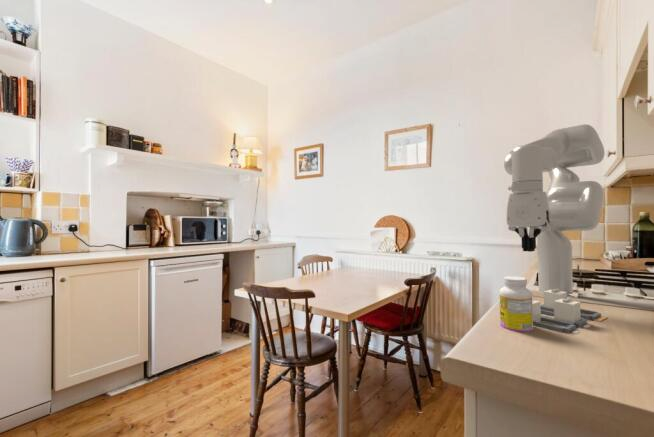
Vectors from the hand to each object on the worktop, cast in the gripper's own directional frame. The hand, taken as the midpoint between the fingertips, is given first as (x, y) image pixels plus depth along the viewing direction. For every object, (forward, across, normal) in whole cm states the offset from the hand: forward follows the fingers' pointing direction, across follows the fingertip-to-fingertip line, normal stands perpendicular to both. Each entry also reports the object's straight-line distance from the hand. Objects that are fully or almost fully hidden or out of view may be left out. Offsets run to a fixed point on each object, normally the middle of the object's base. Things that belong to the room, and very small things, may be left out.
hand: (528, 250), depth 92 cm
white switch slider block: (+16, +6, 0) cm, 17 cm away
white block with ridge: (+16, +12, -9) cm, 22 cm away
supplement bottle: (+17, +7, -22) cm, 29 cm away
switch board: (+17, +10, -7) cm, 21 cm away
